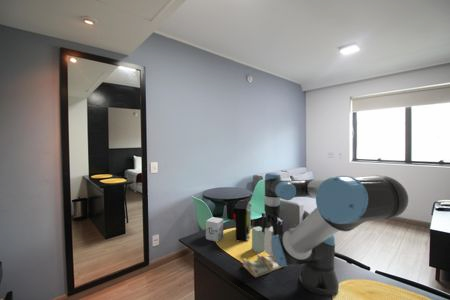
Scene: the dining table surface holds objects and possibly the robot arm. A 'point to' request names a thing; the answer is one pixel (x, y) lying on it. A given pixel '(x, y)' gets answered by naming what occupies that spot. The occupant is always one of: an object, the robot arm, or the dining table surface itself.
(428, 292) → the dining table surface
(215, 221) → the ink box
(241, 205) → the electrical component
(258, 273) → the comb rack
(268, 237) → the white tall block
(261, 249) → the sage plug
